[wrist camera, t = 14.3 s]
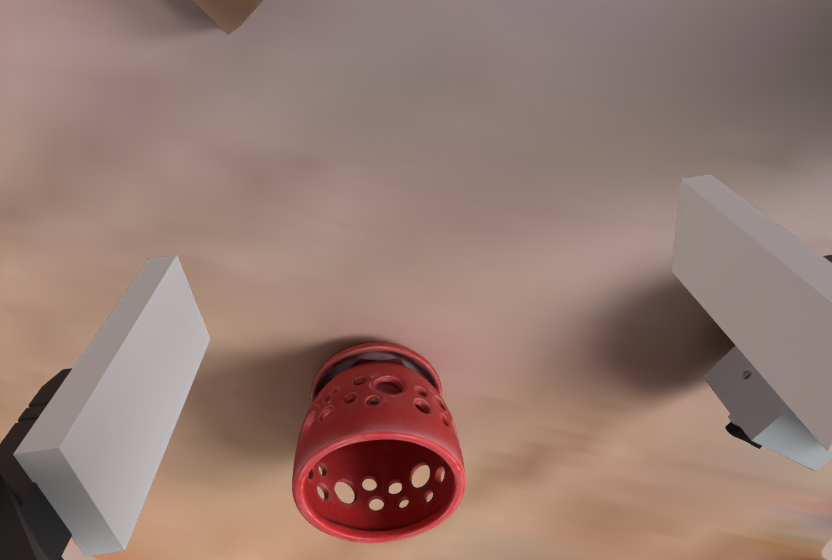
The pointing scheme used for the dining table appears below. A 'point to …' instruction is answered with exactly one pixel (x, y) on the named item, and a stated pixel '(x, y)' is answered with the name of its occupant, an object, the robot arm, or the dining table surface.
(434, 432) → the plant pot
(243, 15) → the stand
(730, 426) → the circuit breaker
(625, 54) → the dining table surface
